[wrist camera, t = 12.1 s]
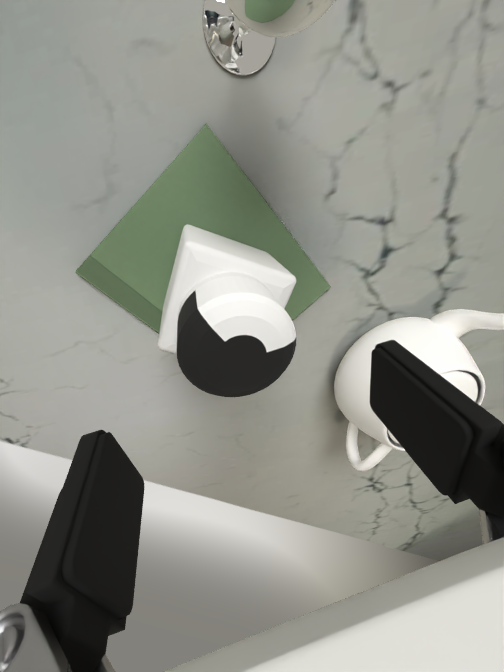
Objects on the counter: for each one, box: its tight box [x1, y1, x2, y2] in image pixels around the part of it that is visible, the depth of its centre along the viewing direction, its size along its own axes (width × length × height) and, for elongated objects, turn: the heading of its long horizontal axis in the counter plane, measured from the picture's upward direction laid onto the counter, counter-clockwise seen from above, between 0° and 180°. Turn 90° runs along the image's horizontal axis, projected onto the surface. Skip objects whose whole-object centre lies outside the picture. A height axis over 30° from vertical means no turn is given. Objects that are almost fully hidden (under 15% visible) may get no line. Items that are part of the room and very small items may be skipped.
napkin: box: [76, 124, 330, 333], centre depth 24 cm, size 16×14×1 cm
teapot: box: [334, 309, 504, 471], centre depth 28 cm, size 22×14×11 cm, turn 151°
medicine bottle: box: [158, 225, 296, 397], centre depth 19 cm, size 7×7×12 cm
